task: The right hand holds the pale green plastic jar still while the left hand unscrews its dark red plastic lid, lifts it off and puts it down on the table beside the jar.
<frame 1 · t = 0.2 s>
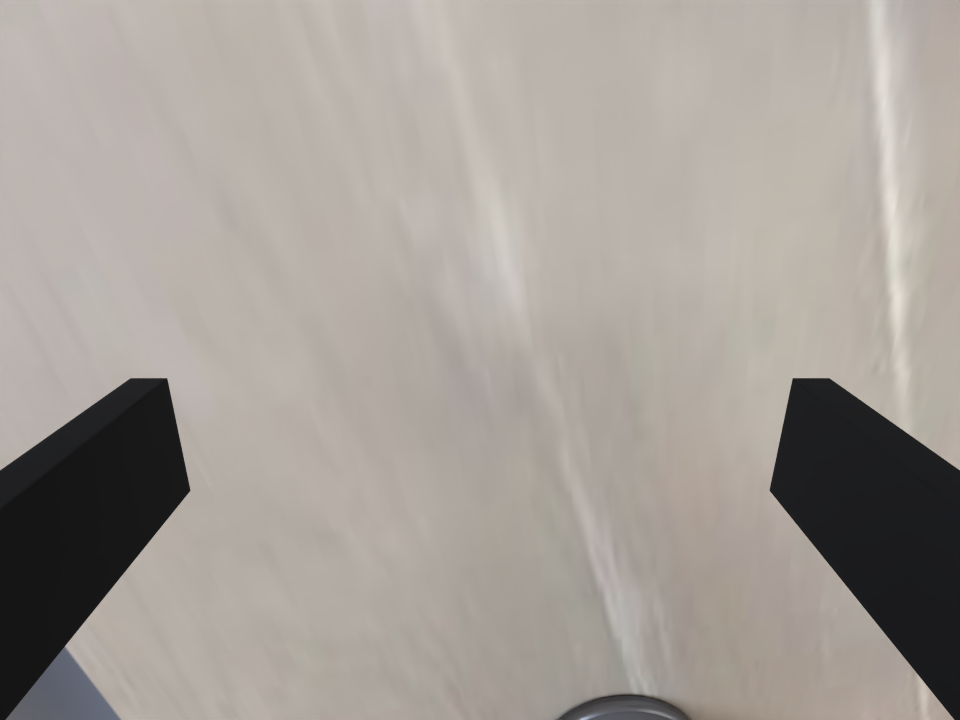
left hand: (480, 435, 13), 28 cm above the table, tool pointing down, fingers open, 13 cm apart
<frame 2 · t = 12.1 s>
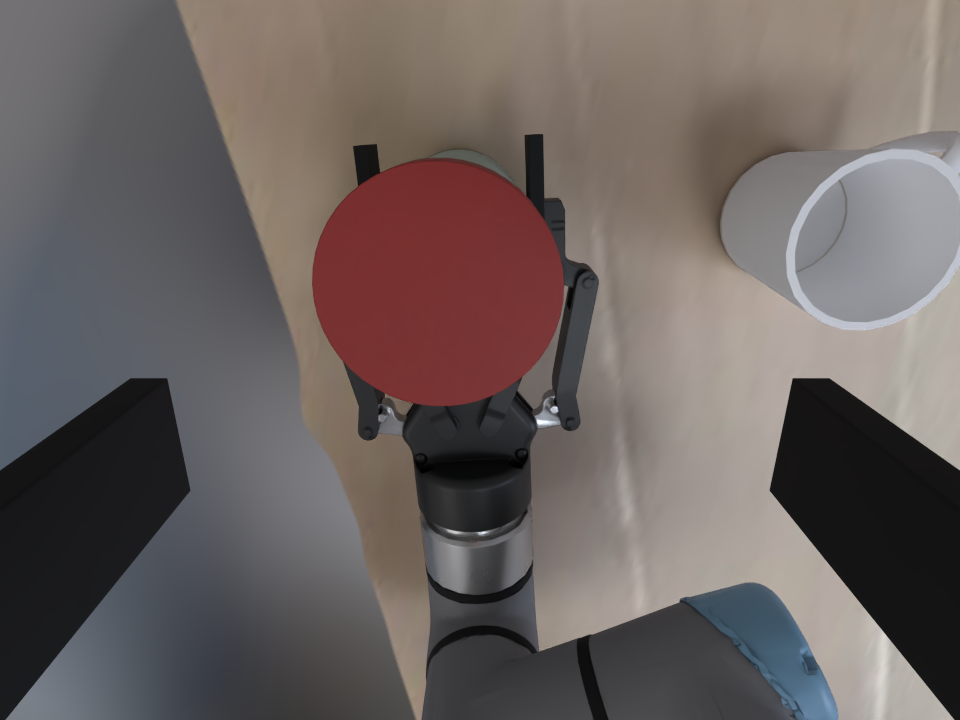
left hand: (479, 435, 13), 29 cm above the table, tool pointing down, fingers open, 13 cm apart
right hand: (449, 140, 31), fingers closed on jar, 8 cm apart
mug: (790, 203, 39), on the table
jar: (459, 215, 39), on the table, touching right hand
lid: (438, 290, 21), point 20 cm above the table, screwed on, not yet turned
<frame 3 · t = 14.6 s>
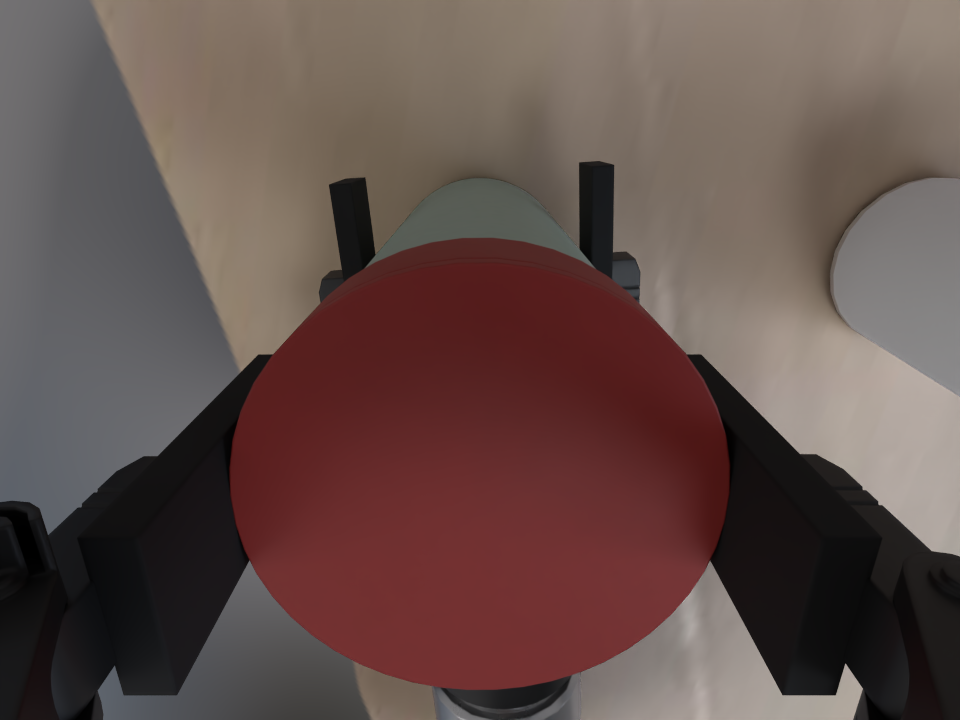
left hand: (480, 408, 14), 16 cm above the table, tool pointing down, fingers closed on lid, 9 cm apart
mug: (925, 245, 29), on the table
jar: (480, 264, 29), on the table, touching right hand
lid: (479, 497, 11), point 20 cm above the table, screwed on, not yet turned, touching left hand
when the left hand's fingers open (16 cm above the table, at t = 16.0 s): lid stays where it is, point 20 cm above the table.
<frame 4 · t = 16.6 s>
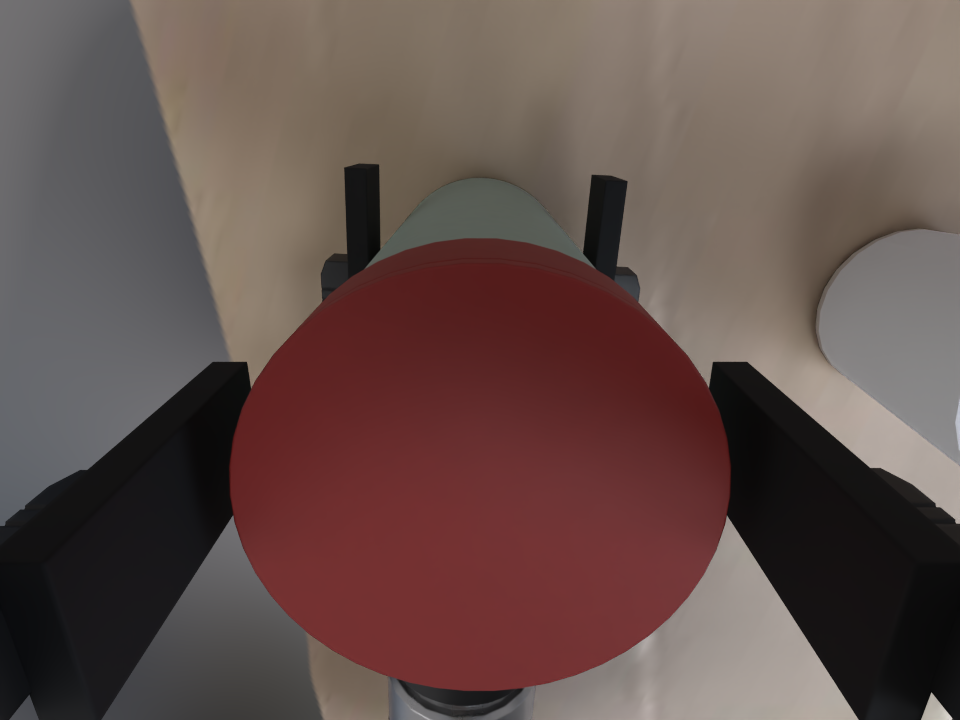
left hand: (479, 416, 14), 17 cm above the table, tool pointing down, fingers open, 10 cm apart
mug: (909, 293, 30), on the table
jar: (480, 264, 29), on the table, touching right hand
lid: (480, 498, 11), point 20 cm above the table, turned 73° so far, risen 0.2 cm, still on its thread
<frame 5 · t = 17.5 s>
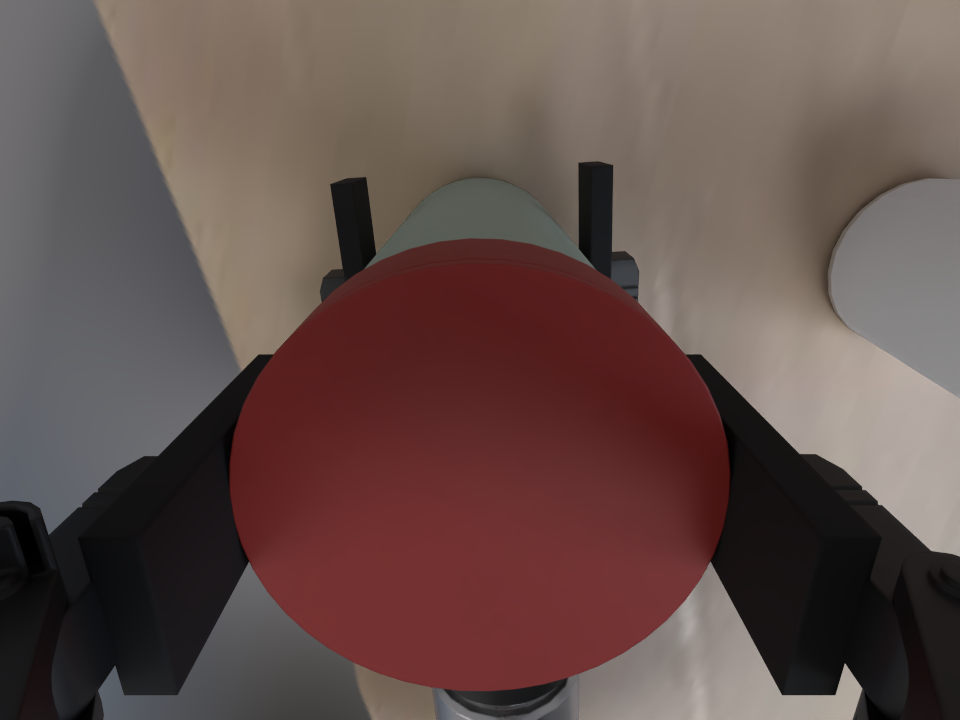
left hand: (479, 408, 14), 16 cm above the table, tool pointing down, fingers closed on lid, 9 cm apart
mug: (922, 245, 29), on the table
jar: (479, 264, 29), on the table, touching right hand
lid: (479, 498, 11), point 20 cm above the table, turned 73° so far, risen 0.2 cm, still on its thread, touching left hand
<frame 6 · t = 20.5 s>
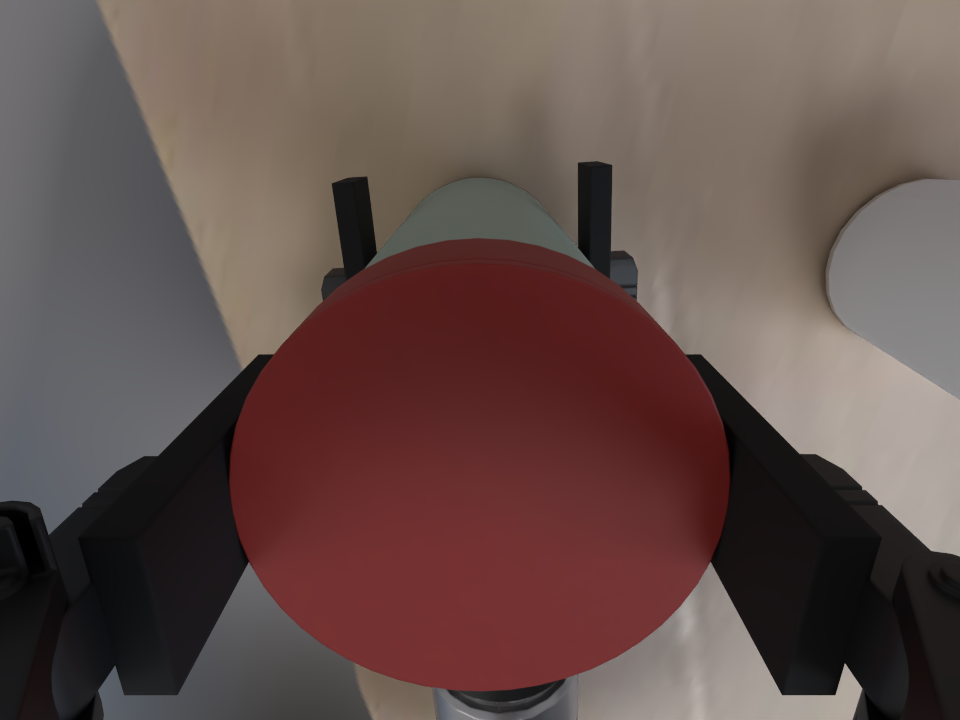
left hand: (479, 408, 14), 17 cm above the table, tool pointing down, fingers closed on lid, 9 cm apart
mug: (920, 245, 29), on the table
jar: (479, 263, 29), on the table, touching right hand
lid: (479, 498, 11), point 20 cm above the table, turned 146° so far, risen 0.4 cm, still on its thread, touching left hand
when the left hand's fingers open (0 cm above the table, at t = 27.2 s): lid drops 2 cm, point 2 cm above the table.
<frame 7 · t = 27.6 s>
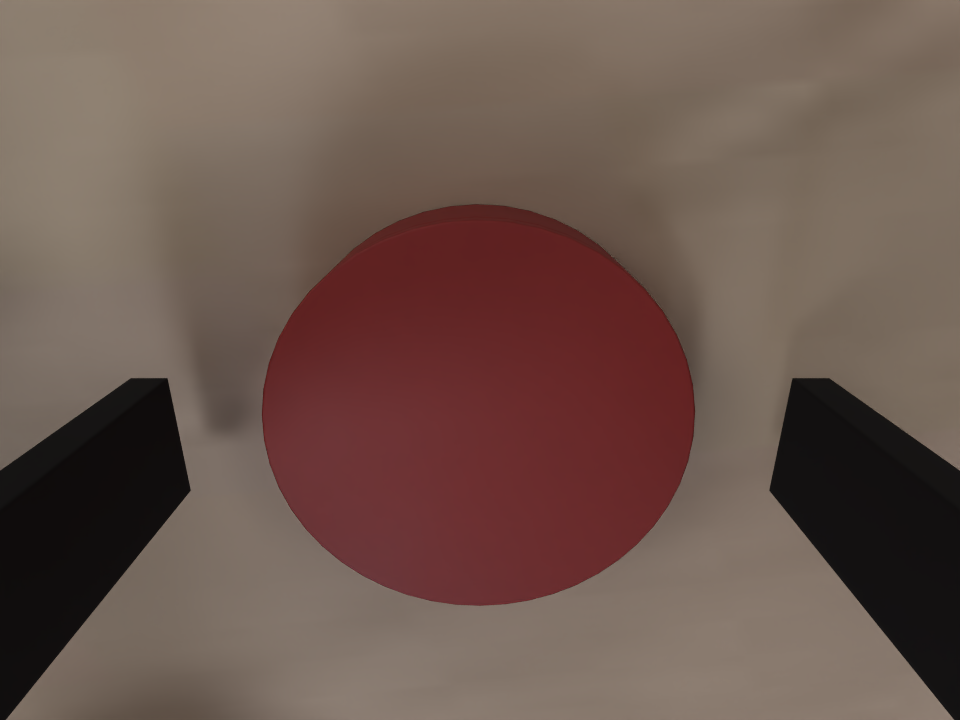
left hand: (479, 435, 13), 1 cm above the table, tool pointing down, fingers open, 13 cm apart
lid: (478, 430, 12), point 2 cm above the table, off its thread
when the right hand's fingers open (7 cm above the table, at t = 28.2 s): jar stays where it is, on the table.
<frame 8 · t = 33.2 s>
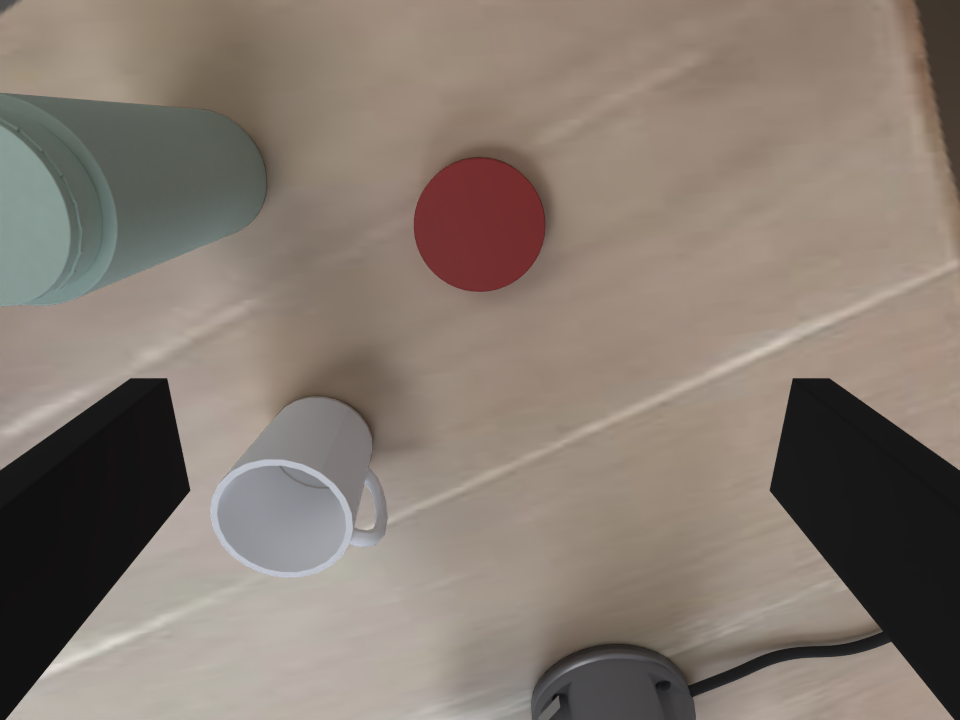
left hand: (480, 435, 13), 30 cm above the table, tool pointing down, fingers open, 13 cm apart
mug: (335, 444, 47), on the table
jar: (205, 174, 40), on the table
lid: (479, 227, 39), point 2 cm above the table, off its thread
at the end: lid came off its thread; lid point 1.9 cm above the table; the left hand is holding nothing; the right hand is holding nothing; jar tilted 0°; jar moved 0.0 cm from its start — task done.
